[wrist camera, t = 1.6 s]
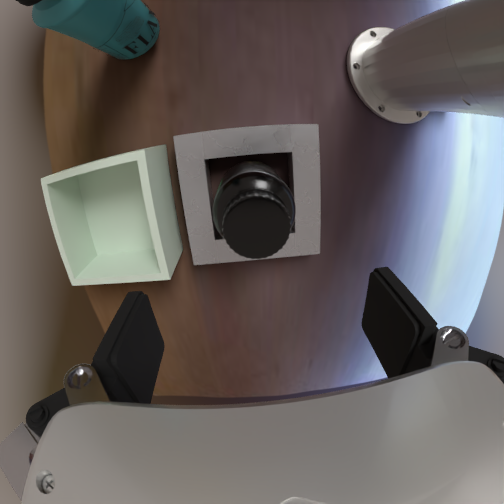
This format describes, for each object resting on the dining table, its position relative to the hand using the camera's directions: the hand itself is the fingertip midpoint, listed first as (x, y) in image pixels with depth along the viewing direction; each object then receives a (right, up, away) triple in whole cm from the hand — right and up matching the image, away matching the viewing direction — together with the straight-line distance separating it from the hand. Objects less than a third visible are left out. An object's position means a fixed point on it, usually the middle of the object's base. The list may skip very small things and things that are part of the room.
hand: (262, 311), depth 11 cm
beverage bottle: (-13, +26, +10) cm, 31 cm away
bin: (-15, +8, +19) cm, 25 cm away
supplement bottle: (-1, +9, +19) cm, 21 cm away
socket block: (-1, +9, +19) cm, 21 cm away
